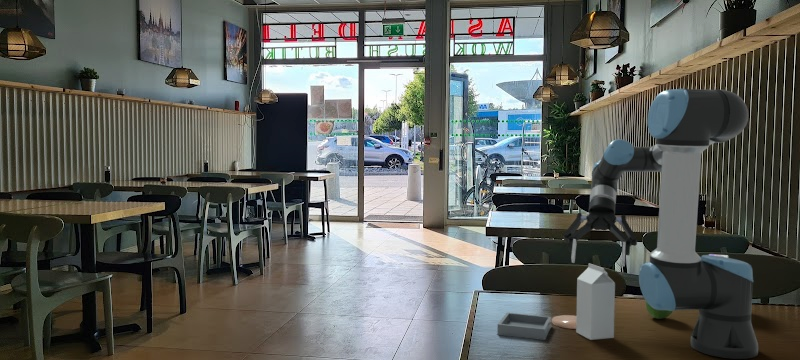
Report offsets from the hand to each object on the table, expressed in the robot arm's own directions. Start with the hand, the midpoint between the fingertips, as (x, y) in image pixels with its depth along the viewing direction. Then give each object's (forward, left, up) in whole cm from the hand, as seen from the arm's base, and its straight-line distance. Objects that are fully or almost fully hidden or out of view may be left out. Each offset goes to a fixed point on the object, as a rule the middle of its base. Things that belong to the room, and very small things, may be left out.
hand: (597, 261), depth 178 cm
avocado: (-7, -21, -18) cm, 29 cm away
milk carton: (-6, +8, -18) cm, 21 cm away
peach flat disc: (+5, +4, -18) cm, 19 cm away
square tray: (+8, +20, -18) cm, 28 cm away
